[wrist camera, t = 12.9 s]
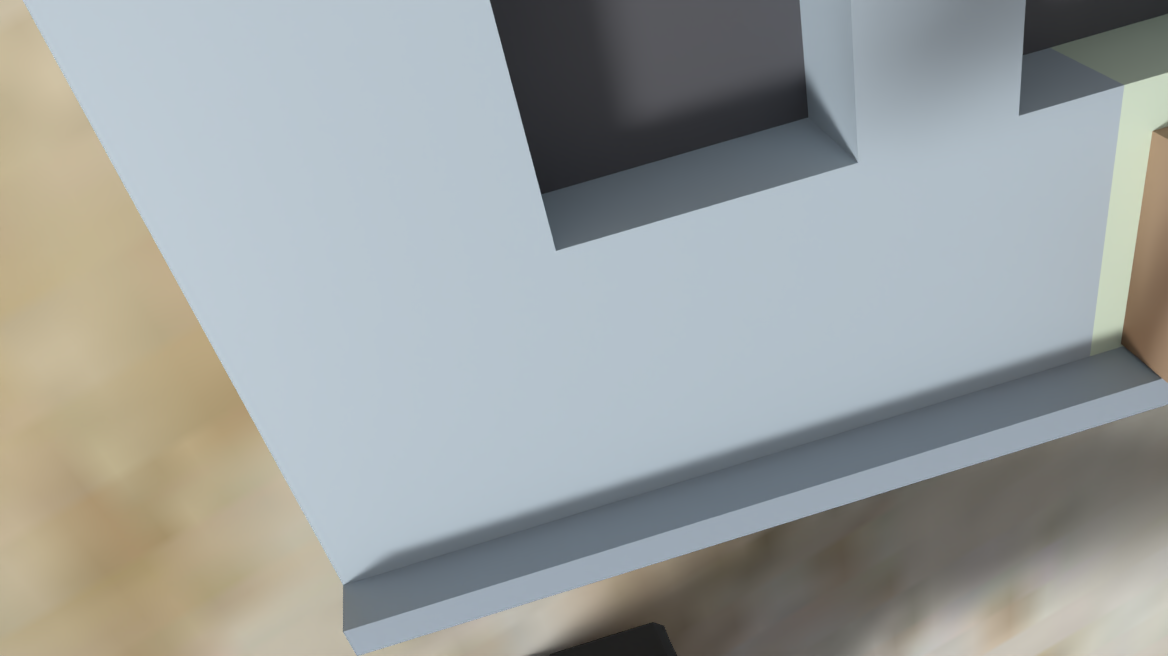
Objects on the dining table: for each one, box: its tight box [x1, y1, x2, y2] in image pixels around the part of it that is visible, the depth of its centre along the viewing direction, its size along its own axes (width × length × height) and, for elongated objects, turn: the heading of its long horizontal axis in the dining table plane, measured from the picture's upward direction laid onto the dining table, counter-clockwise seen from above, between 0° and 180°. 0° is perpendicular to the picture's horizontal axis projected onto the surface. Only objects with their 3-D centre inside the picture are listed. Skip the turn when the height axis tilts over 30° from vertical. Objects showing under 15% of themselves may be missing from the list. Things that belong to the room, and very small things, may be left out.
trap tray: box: [23, 0, 1168, 656], centre depth 18 cm, size 13×23×4 cm, turn 102°
